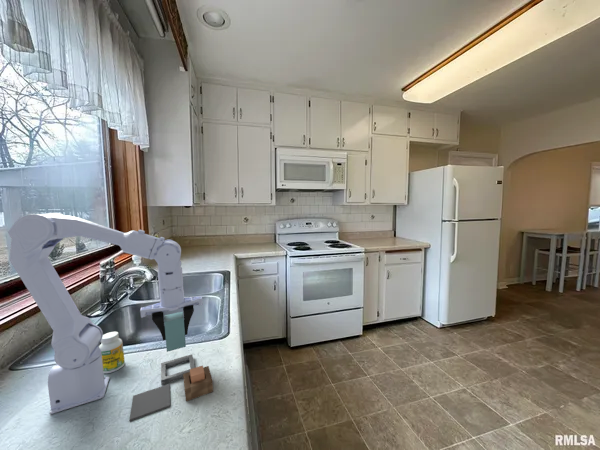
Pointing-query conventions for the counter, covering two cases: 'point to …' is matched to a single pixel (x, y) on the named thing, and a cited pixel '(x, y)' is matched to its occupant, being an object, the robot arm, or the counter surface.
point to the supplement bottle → (112, 352)
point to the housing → (198, 385)
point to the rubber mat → (150, 402)
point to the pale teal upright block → (174, 331)
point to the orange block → (197, 374)
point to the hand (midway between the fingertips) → (175, 335)
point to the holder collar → (170, 363)
